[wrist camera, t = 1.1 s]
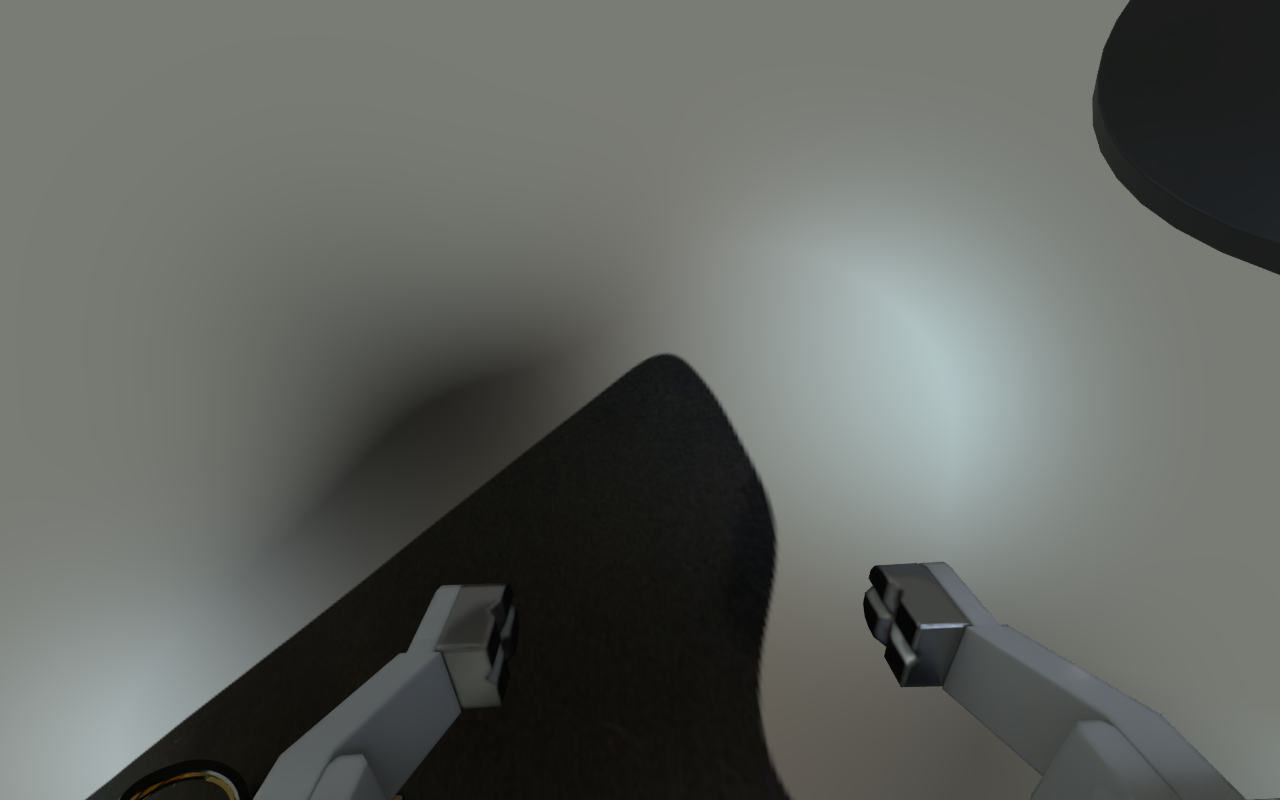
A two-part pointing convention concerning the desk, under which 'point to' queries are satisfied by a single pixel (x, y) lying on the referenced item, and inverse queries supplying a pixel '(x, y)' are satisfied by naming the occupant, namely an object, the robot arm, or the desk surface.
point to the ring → (190, 771)
